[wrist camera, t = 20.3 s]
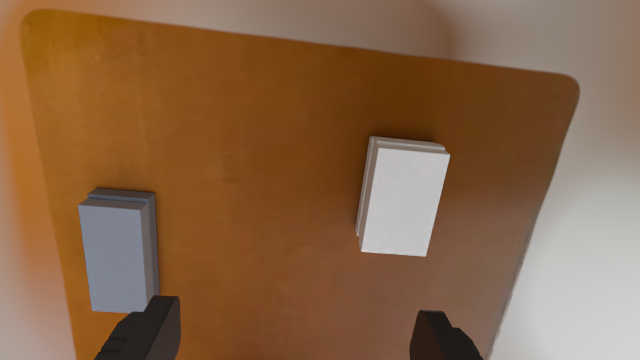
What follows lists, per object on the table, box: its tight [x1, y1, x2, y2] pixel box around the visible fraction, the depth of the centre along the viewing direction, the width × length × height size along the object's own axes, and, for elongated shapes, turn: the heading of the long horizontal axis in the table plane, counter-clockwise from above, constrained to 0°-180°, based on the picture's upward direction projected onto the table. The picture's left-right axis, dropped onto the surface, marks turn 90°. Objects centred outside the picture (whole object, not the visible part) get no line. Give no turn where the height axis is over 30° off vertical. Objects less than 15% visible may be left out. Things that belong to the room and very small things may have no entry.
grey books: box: [78, 188, 160, 313], centre depth 35 cm, size 12×6×3 cm, turn 174°
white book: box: [359, 144, 450, 256], centre depth 32 cm, size 10×6×2 cm, turn 174°
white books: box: [355, 136, 445, 239], centre depth 34 cm, size 10×6×3 cm, turn 174°
